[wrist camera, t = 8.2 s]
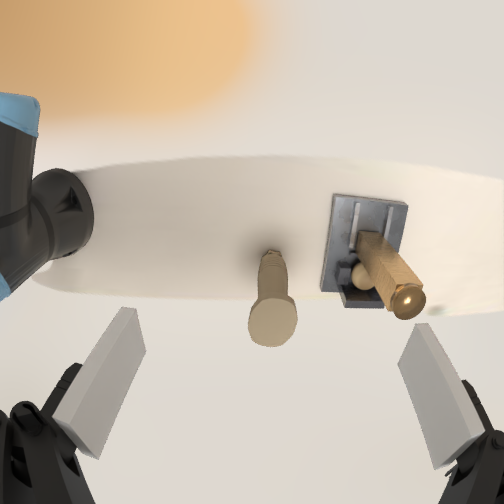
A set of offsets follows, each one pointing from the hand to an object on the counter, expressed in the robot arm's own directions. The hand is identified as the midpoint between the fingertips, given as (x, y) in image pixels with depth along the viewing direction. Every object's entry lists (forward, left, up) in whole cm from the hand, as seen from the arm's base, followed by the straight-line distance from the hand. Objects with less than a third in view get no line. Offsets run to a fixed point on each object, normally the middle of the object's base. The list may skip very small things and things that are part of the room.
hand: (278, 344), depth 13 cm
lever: (+15, 0, -27) cm, 31 cm away
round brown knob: (+16, -4, -27) cm, 32 cm away
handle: (+4, -9, -29) cm, 31 cm away
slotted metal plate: (+15, -1, -29) cm, 32 cm away
